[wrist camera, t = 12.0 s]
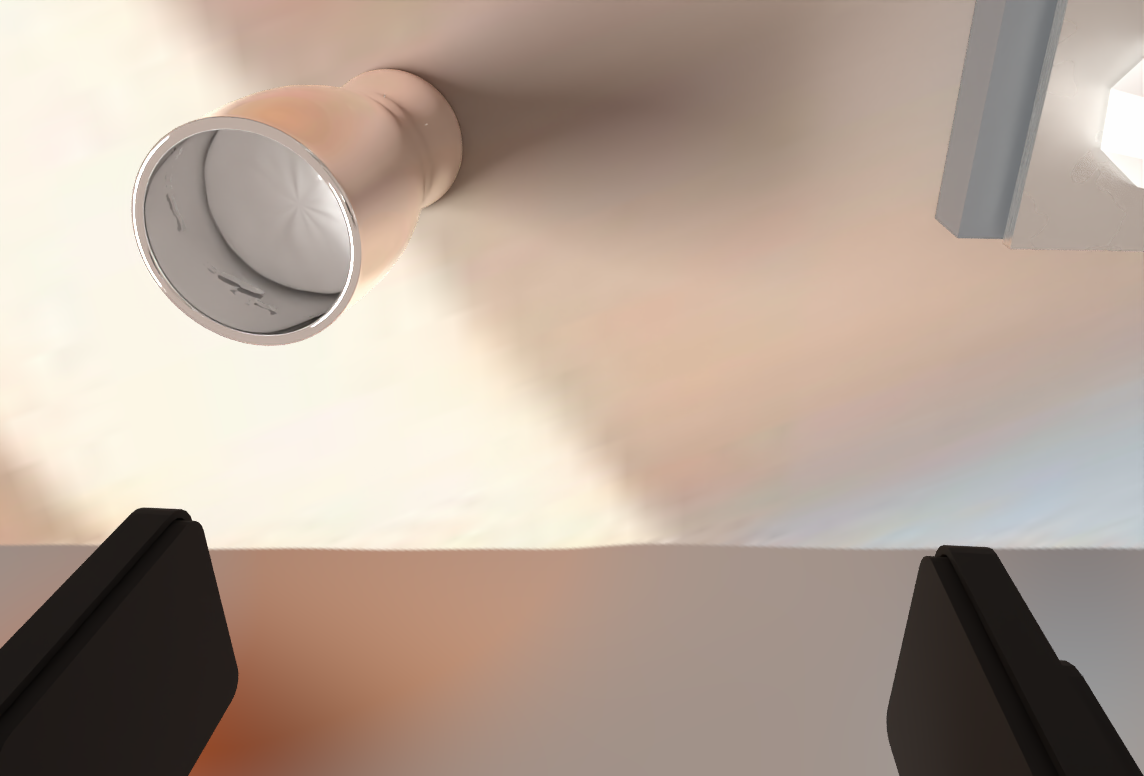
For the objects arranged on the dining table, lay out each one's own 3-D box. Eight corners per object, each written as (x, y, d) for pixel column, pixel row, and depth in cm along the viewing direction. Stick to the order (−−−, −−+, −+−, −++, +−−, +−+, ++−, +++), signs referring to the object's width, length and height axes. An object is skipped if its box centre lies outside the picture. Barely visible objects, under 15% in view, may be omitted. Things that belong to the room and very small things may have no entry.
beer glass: (455, 238, 38) (348, 380, 25) (307, 195, 38) (119, 315, 25) (489, 84, 35) (387, 152, 22) (328, 35, 35) (125, 74, 21)
